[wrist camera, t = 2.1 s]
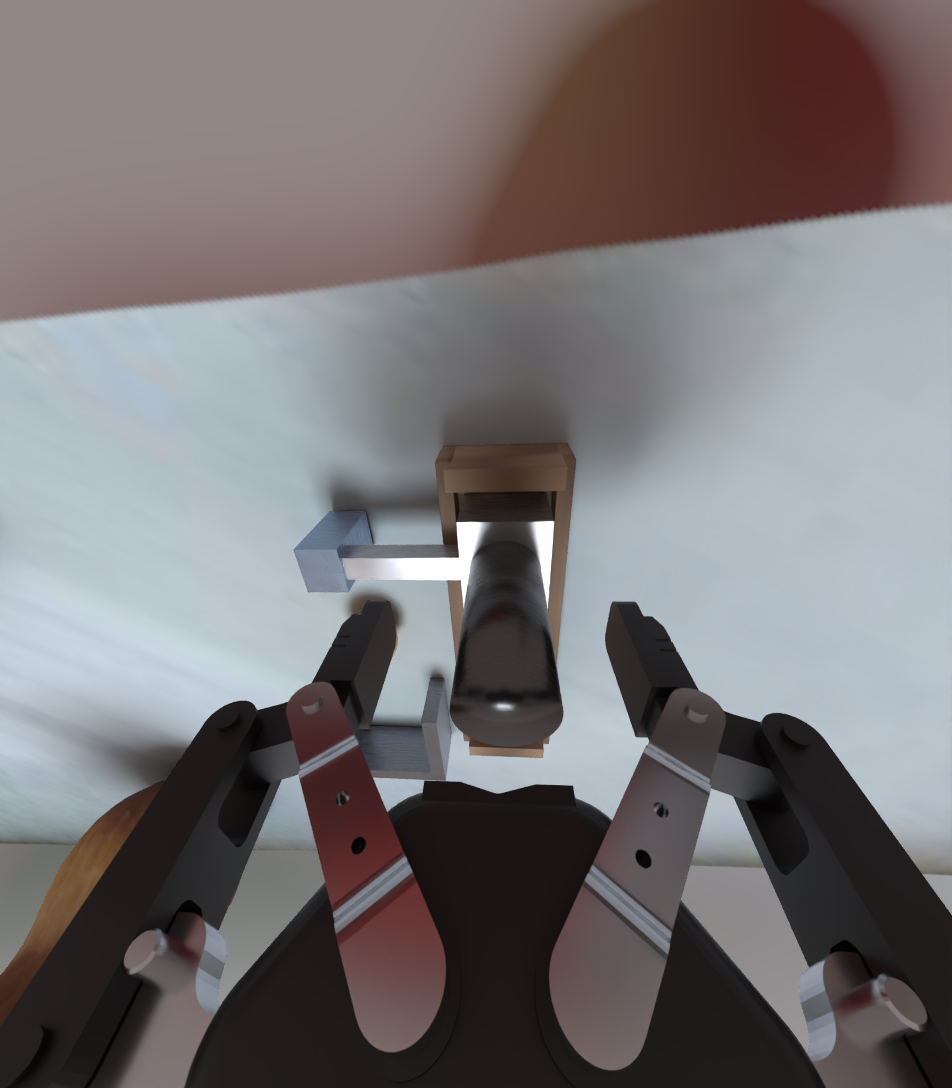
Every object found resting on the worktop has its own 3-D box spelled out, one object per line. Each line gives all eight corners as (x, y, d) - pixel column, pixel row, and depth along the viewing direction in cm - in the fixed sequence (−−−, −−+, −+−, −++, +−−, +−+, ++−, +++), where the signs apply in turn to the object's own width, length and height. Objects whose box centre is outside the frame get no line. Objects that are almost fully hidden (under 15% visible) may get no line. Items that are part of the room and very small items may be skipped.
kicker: (544, 485, 18) (587, 652, 9) (540, 567, 21) (570, 765, 11) (323, 489, 19) (150, 644, 10) (344, 567, 22) (224, 751, 12)
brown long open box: (567, 443, 18) (580, 467, 15) (545, 711, 28) (550, 758, 25) (443, 446, 18) (431, 470, 15) (467, 709, 28) (462, 754, 25)
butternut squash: (113, 752, 35) (-490, 1410, 14) (235, 744, 33) (-253, 1506, 12) (196, 821, 42) (-124, 1335, 21) (301, 818, 40) (67, 1387, 19)
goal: (443, 678, 27) (436, 723, 24) (451, 735, 30) (445, 780, 27) (337, 676, 27) (317, 719, 24) (357, 732, 31) (341, 775, 28)
